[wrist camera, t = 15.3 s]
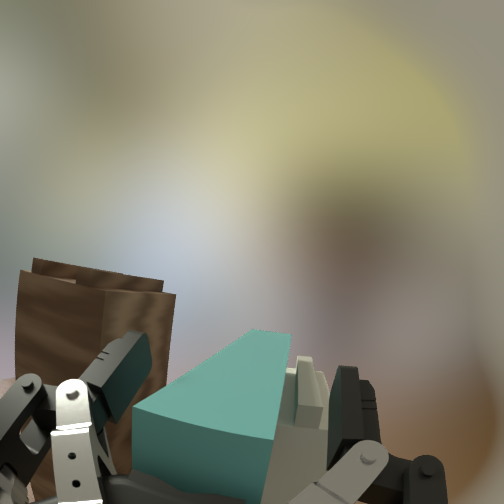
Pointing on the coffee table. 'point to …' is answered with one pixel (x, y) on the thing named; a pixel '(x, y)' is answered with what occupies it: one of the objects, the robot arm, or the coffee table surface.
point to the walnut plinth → (87, 338)
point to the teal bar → (216, 420)
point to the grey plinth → (299, 434)
